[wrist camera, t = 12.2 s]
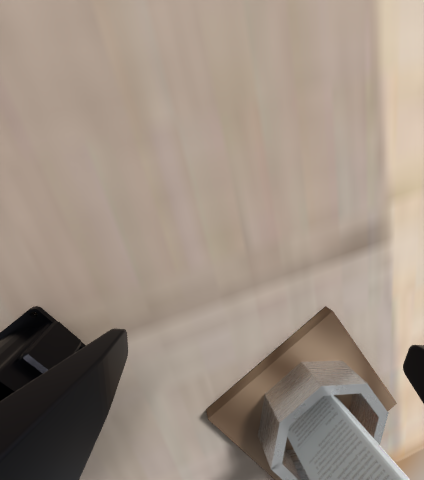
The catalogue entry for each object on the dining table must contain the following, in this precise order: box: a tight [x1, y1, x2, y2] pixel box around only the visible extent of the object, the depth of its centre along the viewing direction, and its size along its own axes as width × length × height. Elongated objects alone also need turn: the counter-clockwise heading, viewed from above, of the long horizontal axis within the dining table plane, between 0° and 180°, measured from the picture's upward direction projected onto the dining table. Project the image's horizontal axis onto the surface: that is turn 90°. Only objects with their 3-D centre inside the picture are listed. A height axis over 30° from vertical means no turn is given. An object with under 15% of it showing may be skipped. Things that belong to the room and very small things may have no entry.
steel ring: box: [258, 361, 388, 480], centre depth 22 cm, size 12×12×3 cm
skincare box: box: [287, 395, 410, 480], centre depth 18 cm, size 6×4×12 cm
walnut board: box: [206, 307, 397, 480], centre depth 24 cm, size 16×16×1 cm
